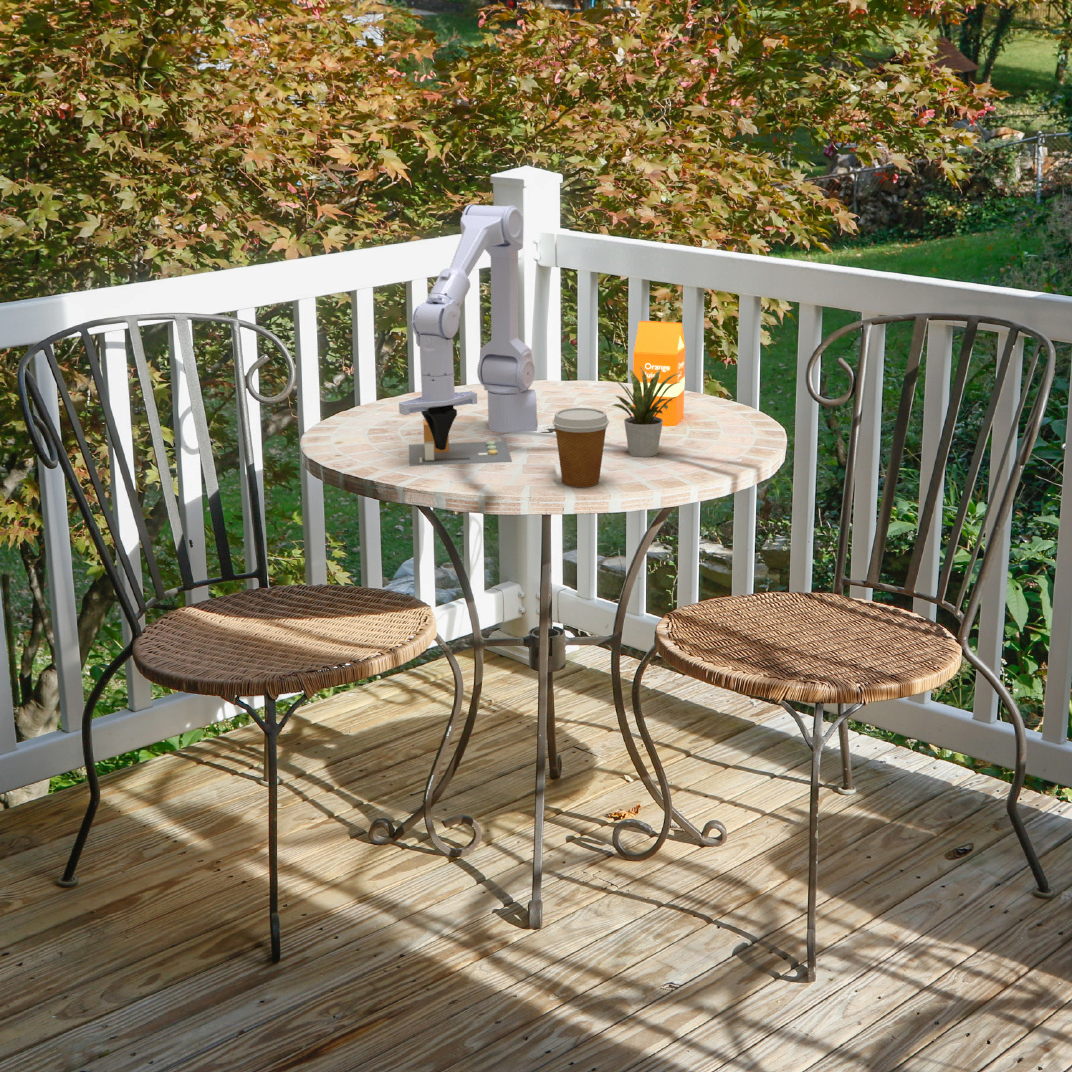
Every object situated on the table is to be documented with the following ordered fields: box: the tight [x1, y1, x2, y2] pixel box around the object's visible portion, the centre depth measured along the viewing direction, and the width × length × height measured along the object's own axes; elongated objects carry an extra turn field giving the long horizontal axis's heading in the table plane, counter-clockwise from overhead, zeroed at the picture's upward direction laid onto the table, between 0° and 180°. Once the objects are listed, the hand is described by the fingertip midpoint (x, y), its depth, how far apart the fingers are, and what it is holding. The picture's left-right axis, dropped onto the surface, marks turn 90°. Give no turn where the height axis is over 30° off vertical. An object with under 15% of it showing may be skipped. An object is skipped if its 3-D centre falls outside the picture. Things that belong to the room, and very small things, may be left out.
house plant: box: [606, 365, 683, 458], centre depth 237 cm, size 14×14×16 cm
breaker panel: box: [408, 440, 513, 467], centre depth 236 cm, size 18×14×2 cm
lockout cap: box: [422, 418, 450, 453], centre depth 238 cm, size 4×4×5 cm
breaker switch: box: [423, 441, 434, 460], centre depth 231 cm, size 2×2×3 cm
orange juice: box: [632, 320, 686, 427], centre depth 260 cm, size 8×9×20 cm
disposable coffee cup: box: [552, 407, 610, 488], centre depth 221 cm, size 10×10×12 cm
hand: (440, 448), depth 231 cm, fingers closed
